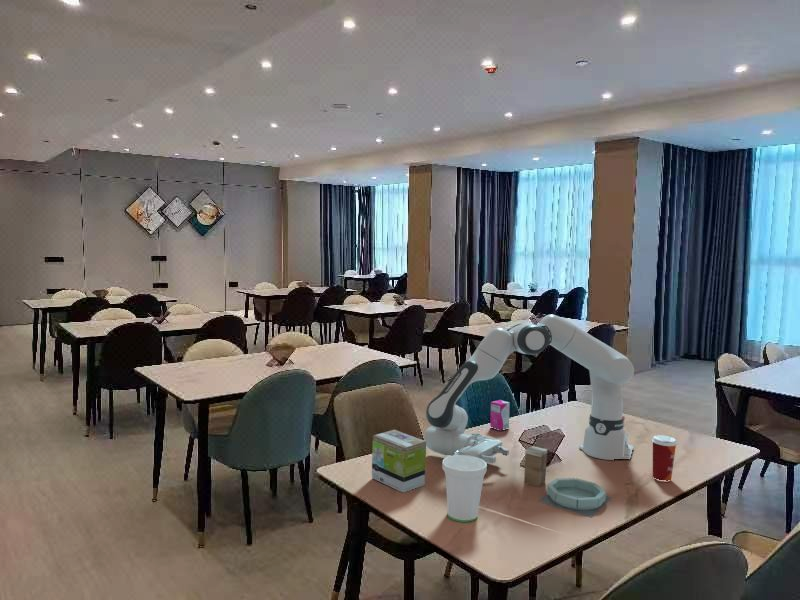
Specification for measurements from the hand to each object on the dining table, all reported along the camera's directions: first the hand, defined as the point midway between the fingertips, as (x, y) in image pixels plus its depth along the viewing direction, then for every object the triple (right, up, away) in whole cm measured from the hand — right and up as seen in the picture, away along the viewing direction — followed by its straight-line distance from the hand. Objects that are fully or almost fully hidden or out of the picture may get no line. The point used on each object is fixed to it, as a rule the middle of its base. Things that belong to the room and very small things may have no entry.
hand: (501, 456), depth 198 cm
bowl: (+19, -8, -19) cm, 28 cm away
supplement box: (+8, -2, +51) cm, 52 cm away
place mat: (+19, -8, -19) cm, 28 cm away
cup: (-16, -9, -31) cm, 36 cm away
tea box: (-35, -6, -9) cm, 36 cm away
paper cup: (+53, -8, 0) cm, 54 cm away
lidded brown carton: (+9, -7, -7) cm, 13 cm away
